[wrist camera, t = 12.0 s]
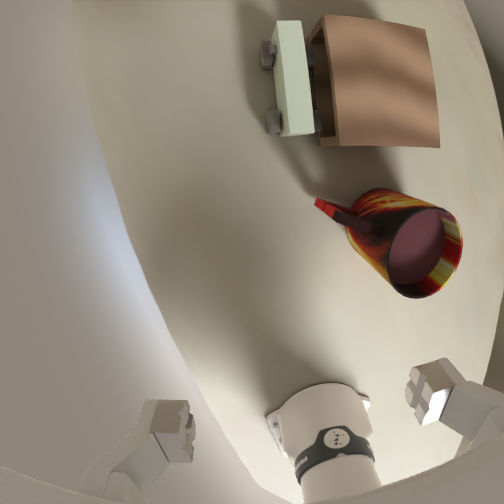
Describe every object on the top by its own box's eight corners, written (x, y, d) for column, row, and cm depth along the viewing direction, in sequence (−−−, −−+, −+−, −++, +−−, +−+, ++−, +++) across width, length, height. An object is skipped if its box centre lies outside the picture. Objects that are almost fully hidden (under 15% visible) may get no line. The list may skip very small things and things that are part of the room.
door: (300, 135, 34) (314, 132, 27) (274, 137, 34) (282, 134, 27) (290, 41, 30) (300, 20, 23) (264, 42, 30) (269, 20, 23)
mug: (311, 196, 37) (341, 218, 25) (409, 184, 37) (464, 201, 25) (318, 269, 40) (346, 316, 29) (410, 252, 40) (458, 288, 28)
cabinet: (405, 145, 35) (440, 148, 27) (268, 149, 35) (277, 149, 27) (394, 46, 30) (424, 29, 23) (257, 39, 30) (262, 13, 23)
